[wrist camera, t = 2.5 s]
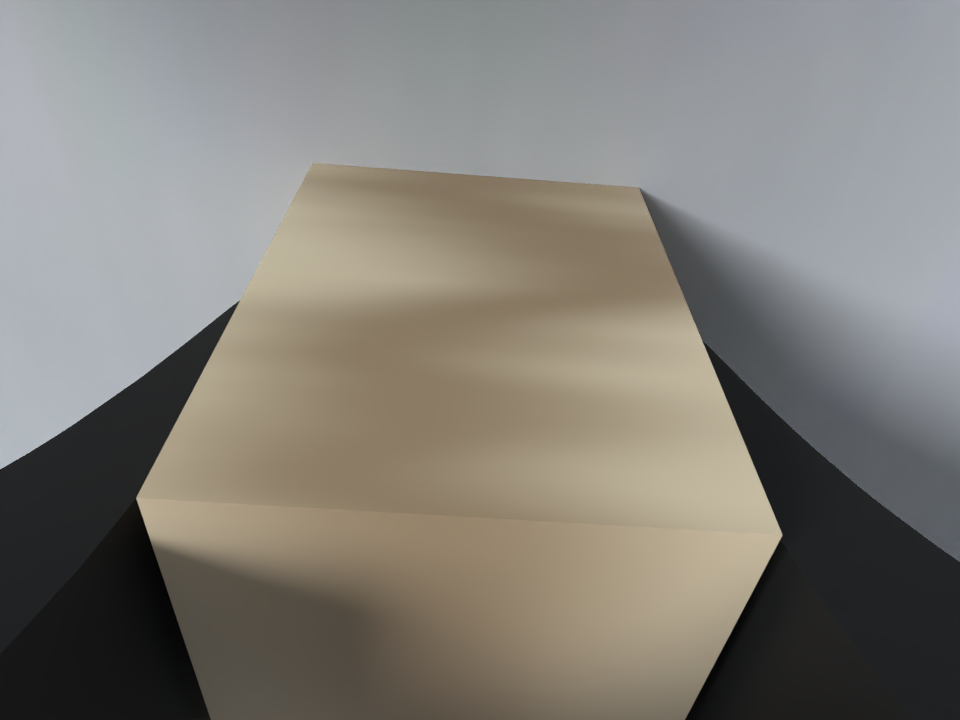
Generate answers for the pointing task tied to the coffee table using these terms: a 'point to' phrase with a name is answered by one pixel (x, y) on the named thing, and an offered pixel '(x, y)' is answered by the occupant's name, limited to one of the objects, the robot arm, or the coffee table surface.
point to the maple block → (458, 465)
